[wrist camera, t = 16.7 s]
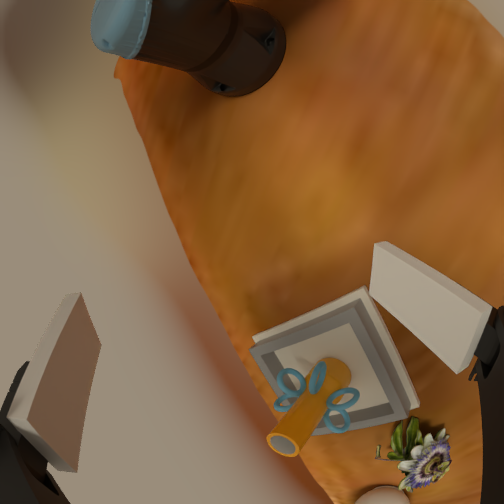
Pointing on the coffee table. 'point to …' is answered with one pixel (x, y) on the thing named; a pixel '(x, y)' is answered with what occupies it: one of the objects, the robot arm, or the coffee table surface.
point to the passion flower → (419, 455)
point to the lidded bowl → (384, 496)
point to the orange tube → (311, 404)
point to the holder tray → (342, 359)
